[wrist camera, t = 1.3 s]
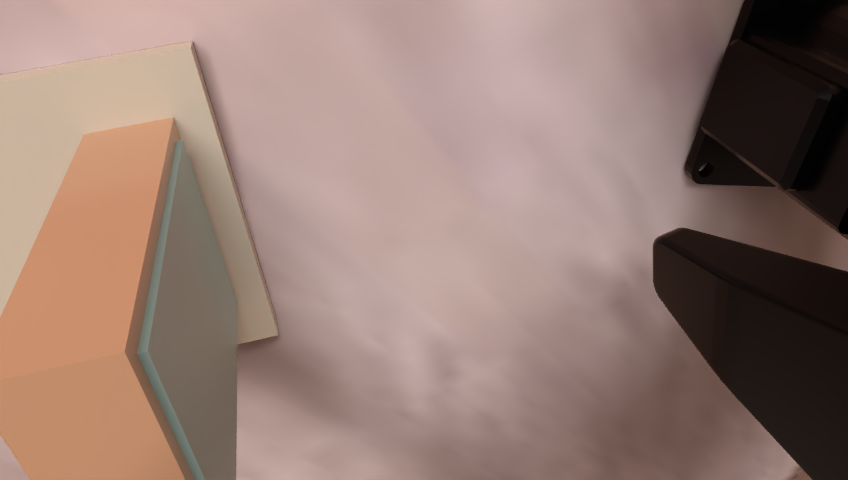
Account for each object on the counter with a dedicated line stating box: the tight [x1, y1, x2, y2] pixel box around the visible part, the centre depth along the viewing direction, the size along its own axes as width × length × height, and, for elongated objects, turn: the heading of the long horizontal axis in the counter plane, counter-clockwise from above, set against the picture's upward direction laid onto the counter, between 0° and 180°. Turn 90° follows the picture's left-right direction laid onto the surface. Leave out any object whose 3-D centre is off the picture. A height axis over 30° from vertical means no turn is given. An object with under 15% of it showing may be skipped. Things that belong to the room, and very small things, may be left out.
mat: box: [0, 41, 278, 345], centre depth 19 cm, size 12×9×1 cm
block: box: [0, 117, 238, 480], centre depth 16 cm, size 2×6×9 cm, turn 6°
